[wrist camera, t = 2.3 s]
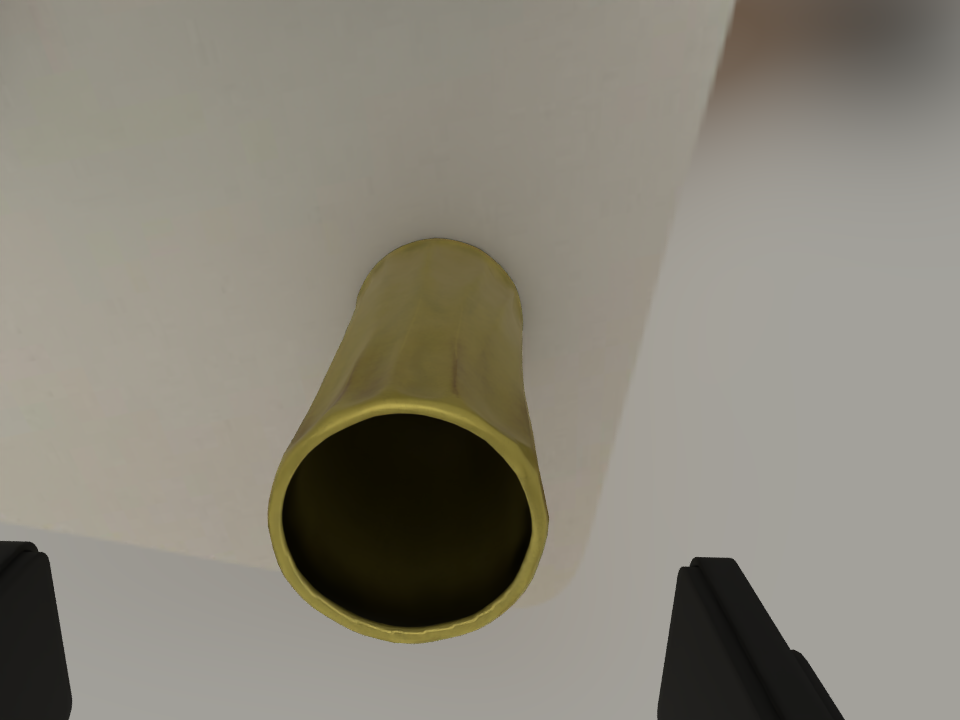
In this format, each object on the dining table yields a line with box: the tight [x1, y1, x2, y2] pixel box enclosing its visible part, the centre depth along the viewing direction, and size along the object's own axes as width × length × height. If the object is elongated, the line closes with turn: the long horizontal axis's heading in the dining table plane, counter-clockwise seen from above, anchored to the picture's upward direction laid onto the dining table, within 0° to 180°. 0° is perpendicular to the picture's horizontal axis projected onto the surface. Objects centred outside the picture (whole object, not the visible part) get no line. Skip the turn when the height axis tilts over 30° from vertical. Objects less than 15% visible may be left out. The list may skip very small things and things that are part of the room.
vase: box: [268, 238, 549, 644], centre depth 20 cm, size 6×6×14 cm
